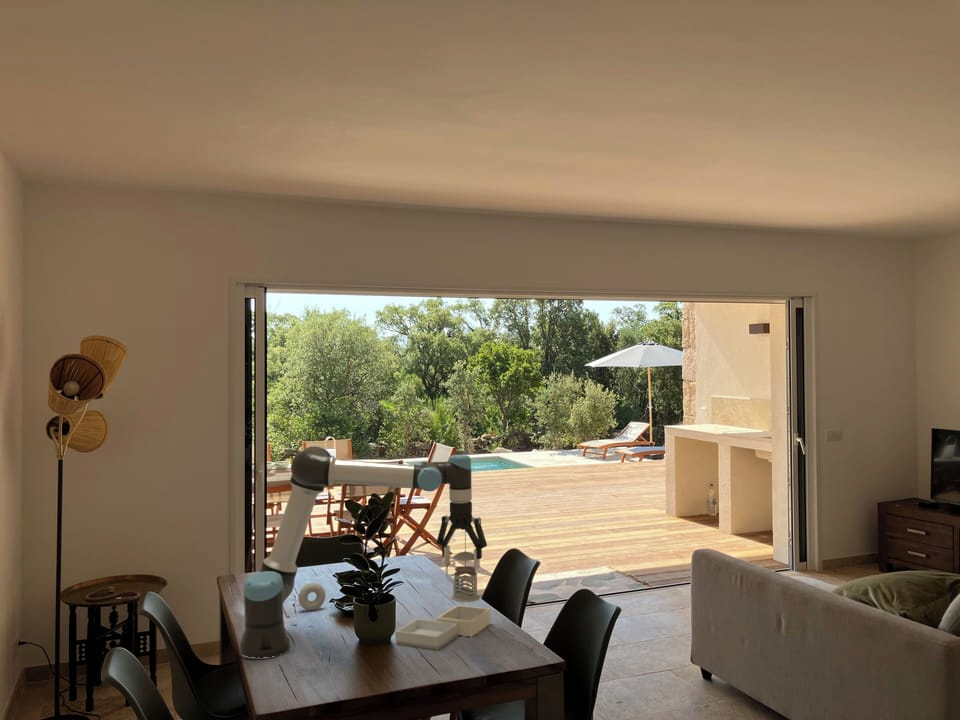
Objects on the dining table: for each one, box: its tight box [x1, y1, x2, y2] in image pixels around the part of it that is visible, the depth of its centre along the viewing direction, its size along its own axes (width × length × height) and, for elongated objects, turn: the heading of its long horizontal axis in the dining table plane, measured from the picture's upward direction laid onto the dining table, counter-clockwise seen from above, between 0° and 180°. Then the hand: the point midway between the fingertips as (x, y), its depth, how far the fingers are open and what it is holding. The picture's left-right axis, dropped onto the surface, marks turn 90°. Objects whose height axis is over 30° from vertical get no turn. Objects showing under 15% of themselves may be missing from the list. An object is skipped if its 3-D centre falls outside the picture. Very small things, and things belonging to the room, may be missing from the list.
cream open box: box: [436, 604, 491, 638], centre depth 255 cm, size 15×13×5 cm
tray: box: [394, 618, 458, 651], centre depth 245 cm, size 14×15×4 cm
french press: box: [445, 530, 481, 603], centre depth 256 cm, size 10×12×25 cm
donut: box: [297, 582, 326, 611], centre depth 281 cm, size 10×4×10 cm, turn 114°
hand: (462, 567), depth 256 cm, fingers closed on french press, 10 cm apart
